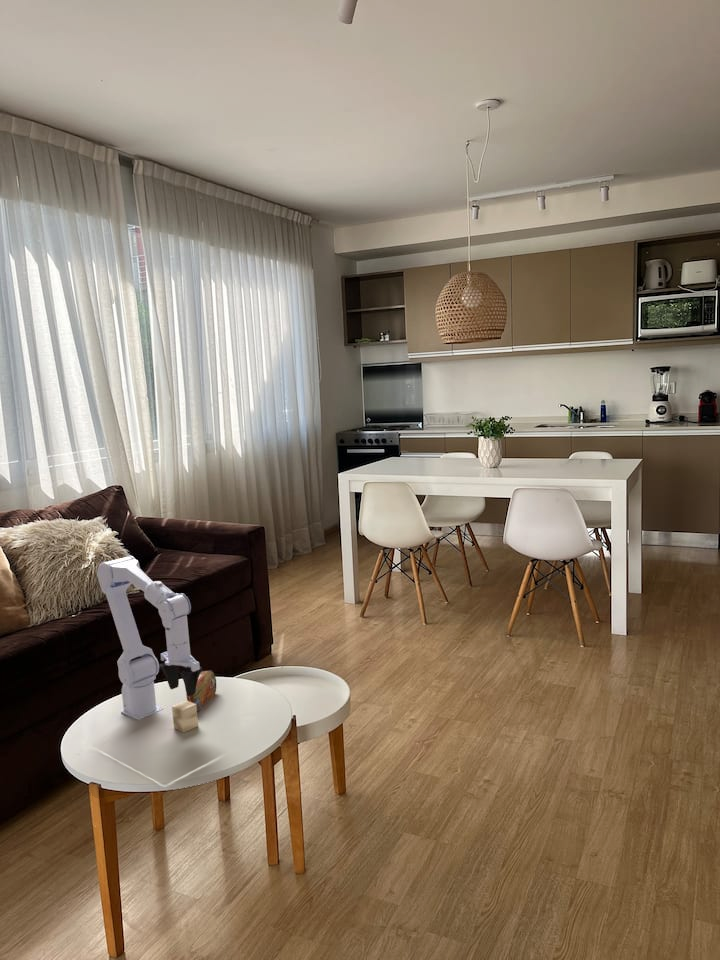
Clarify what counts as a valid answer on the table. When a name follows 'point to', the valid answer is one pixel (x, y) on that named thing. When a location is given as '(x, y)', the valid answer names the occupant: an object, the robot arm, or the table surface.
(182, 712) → the birch block
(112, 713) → the table surface
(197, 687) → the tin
